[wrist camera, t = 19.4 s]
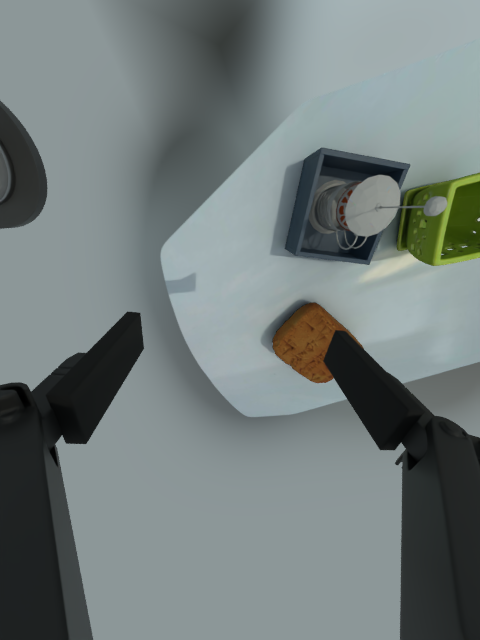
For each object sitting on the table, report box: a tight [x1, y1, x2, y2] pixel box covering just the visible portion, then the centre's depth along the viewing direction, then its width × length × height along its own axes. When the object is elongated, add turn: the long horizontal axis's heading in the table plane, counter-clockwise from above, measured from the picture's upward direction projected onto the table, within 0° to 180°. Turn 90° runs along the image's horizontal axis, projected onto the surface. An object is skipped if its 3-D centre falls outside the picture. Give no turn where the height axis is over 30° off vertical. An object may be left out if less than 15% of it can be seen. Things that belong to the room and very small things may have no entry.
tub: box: [285, 148, 410, 265], centre depth 41 cm, size 17×16×8 cm
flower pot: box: [397, 173, 480, 266], centre depth 40 cm, size 14×14×13 cm
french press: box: [309, 175, 447, 250], centre depth 32 cm, size 10×12×25 cm
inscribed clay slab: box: [273, 303, 364, 383], centre depth 55 cm, size 22×17×8 cm
